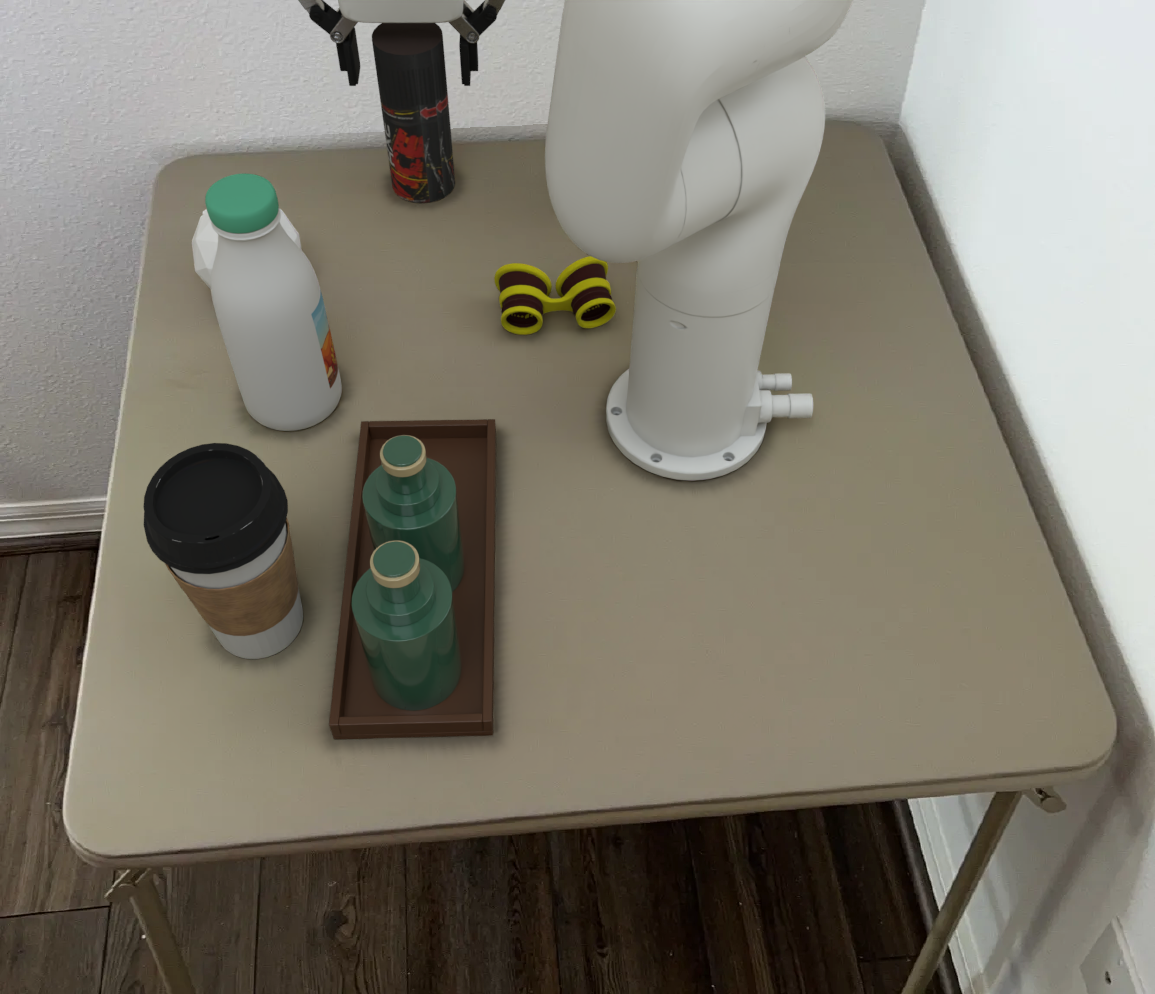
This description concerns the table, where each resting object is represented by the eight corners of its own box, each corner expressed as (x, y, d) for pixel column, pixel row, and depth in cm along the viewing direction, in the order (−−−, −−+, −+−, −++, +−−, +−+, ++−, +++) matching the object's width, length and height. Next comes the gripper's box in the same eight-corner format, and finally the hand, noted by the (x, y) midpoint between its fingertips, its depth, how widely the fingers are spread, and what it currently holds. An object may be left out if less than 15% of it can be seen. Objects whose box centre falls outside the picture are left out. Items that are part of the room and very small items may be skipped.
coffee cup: (203, 690, 74) (135, 563, 62) (192, 585, 79) (127, 449, 67) (330, 659, 76) (288, 530, 64) (312, 558, 81) (270, 421, 69)
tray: (496, 436, 88) (495, 418, 86) (493, 735, 73) (491, 721, 71) (364, 438, 88) (360, 420, 86) (333, 739, 72) (328, 725, 71)
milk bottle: (324, 441, 87) (274, 238, 71) (230, 425, 88) (159, 221, 72) (356, 370, 92) (315, 164, 76) (266, 355, 93) (206, 149, 77)
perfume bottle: (338, 285, 95) (286, 221, 102) (282, 206, 88) (230, 143, 95) (253, 346, 94) (207, 276, 102) (190, 271, 87) (144, 202, 94)
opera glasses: (501, 344, 95) (501, 310, 91) (494, 293, 97) (493, 257, 93) (615, 333, 96) (620, 298, 92) (605, 283, 98) (609, 246, 94)
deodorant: (468, 183, 107) (457, 35, 95) (420, 211, 104) (402, 63, 92) (426, 155, 109) (411, 8, 97) (379, 182, 107) (356, 35, 95)
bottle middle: (465, 533, 82) (452, 412, 71) (463, 604, 78) (449, 487, 67) (382, 534, 81) (356, 413, 71) (376, 606, 78) (348, 489, 67)
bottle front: (462, 629, 77) (448, 514, 66) (460, 709, 73) (444, 602, 63) (374, 631, 77) (345, 516, 66) (367, 712, 73) (336, 604, 62)
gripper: (505, -151, 87) (511, 52, 100) (278, -153, 86) (314, 52, 100) (505, -104, 82) (510, 102, 96) (265, -105, 82) (305, 103, 95)
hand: (411, 77), depth 98 cm, fingers open, 9 cm apart
